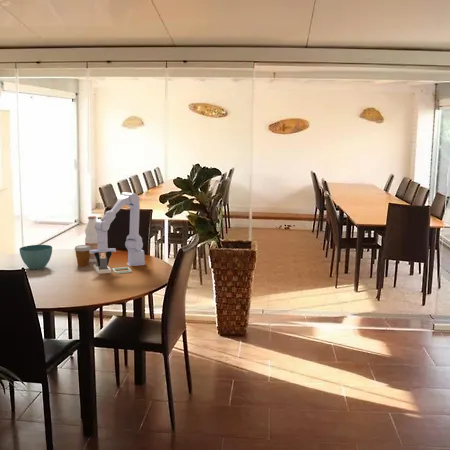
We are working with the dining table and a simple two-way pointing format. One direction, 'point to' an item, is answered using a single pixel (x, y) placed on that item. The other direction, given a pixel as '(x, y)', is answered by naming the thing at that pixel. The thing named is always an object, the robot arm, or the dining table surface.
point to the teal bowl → (36, 255)
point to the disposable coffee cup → (82, 255)
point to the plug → (103, 263)
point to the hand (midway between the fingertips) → (103, 265)
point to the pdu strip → (101, 269)
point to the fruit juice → (91, 237)
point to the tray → (121, 269)
